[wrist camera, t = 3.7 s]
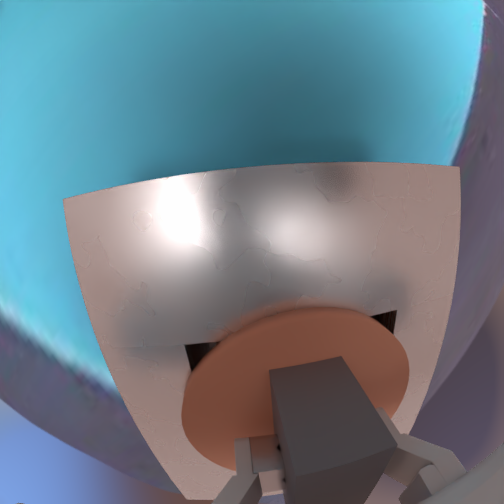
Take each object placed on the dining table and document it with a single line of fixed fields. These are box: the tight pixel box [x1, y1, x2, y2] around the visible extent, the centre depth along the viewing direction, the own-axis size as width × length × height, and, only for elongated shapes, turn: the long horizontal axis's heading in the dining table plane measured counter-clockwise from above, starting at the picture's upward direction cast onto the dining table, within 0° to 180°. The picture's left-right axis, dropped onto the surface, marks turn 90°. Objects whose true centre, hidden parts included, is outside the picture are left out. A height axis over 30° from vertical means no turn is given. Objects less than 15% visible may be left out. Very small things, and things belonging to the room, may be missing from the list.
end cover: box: [181, 307, 410, 504], centre depth 10 cm, size 9×9×10 cm
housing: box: [63, 162, 461, 500], centre depth 13 cm, size 18×14×7 cm
